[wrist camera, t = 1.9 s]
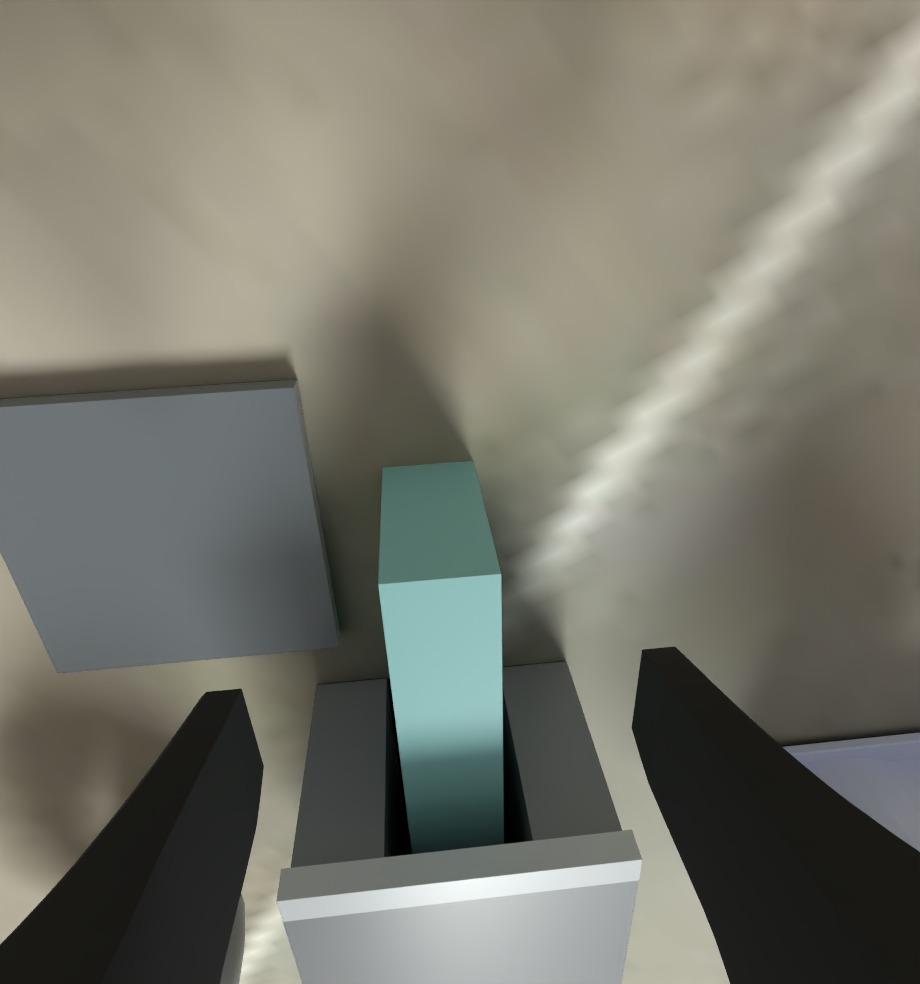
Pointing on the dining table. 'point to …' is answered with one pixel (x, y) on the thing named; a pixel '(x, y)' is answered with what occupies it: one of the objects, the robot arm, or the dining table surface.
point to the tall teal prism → (444, 652)
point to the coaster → (165, 524)
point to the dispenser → (459, 854)
